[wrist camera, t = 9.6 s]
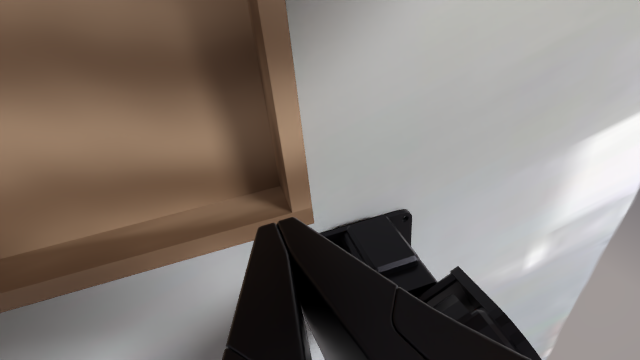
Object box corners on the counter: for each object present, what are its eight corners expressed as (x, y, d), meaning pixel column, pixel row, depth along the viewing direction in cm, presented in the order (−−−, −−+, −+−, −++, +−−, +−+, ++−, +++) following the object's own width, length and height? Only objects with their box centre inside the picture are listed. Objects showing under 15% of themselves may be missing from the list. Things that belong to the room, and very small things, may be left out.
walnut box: (295, 187, 23) (314, 223, 20) (-117, 295, 19) (-167, 360, 16) (225, -268, 13) (243, -321, 10) (-686, -257, 9) (-1083, -345, 6)
